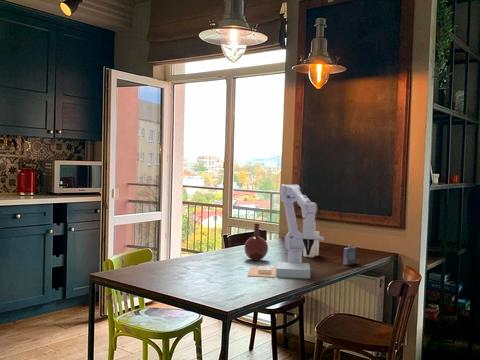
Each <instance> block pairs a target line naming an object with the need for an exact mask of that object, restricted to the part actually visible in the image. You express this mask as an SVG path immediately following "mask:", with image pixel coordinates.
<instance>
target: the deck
mask: <svg viewBox="0 0 480 360" xmlns="http://www.w3.org/2000/svg"><path fill="white" fill-rule="evenodd" d="M310 266H311V265H310V263H305V262H302V263H288V262H286V261H283V262H279V261H277V262H276V274H275V278H290V279H291V278H292V279H311V267H310Z"/></svg>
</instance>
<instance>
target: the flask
mask: <svg viewBox="0 0 480 360" xmlns="http://www.w3.org/2000/svg"><path fill="white" fill-rule="evenodd" d="M356 254H357V247H355V246H352V244H349V243H348V244H347V247H344V248H343V261H342V264H343V265H344V266H348V265H355V264H356Z"/></svg>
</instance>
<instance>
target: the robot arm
mask: <svg viewBox="0 0 480 360" xmlns="http://www.w3.org/2000/svg"><path fill="white" fill-rule="evenodd" d="M279 197H280V201H281V202H283V207H284V212H285V213H284V214H285V219H286V224H287V229H288V232H287V234H286V235H285V236H284V246H285V249H286V250H287V263H303V261H302V258H303V257H302V256H303V249H304V248H306V255H309V254H310V250H311V247H312V245H313V243H314V240H319V242H320V241H321V242H324V239H325V238H324V236H321V235H319V236H314V233H315V231H316V227H315V222H316V214H317V213H318V204H317V203H316V202H313V201H311V200H310V198H308V196H307V195H306V194H302V192H301V186H300V185H299V184H284V183H282V184H281V185H280V187H279ZM295 202H296V203H297V205H298V206H299V207H300V209H301V217H302V232H301V231H299V227H298V224H297V223H298V222H297V217H296V212H295V207H294V206H295V205H294V203H295ZM305 238H306V239H305Z"/></svg>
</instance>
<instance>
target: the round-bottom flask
mask: <svg viewBox="0 0 480 360" xmlns="http://www.w3.org/2000/svg"><path fill="white" fill-rule="evenodd" d="M253 225H254V228H253V229H254V232H253V234H254V235H253V236H251V237H248V239H247V240H245V241H246V242H245V243H244V246H243V247H244V248H243V250H244V253H245V255H246V257H247V258H249V259H250V260H252V261H261V260H262V259H264V258H265V257H266V256H267V254H268V251H269V245H268V242H267V241H266V240H265V238H263V237H261V236H260V223H253Z"/></svg>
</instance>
